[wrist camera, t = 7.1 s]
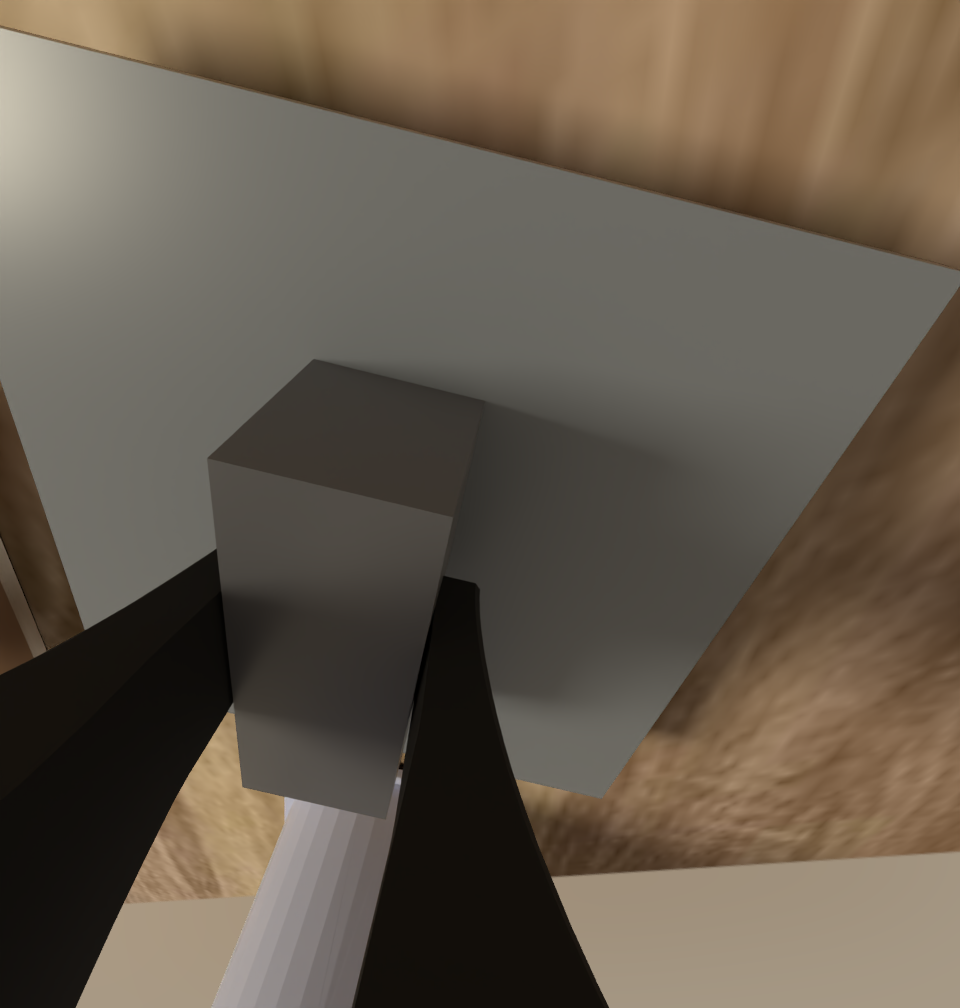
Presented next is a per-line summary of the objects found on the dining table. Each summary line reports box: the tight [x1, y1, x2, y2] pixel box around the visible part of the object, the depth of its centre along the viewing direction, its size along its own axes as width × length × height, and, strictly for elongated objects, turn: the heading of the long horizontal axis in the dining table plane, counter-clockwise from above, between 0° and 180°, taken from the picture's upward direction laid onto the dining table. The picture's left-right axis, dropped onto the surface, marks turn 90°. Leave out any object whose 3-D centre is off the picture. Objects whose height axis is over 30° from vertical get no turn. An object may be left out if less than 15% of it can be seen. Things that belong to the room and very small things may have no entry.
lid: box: [0, 25, 960, 820], centre depth 10 cm, size 15×15×4 cm
